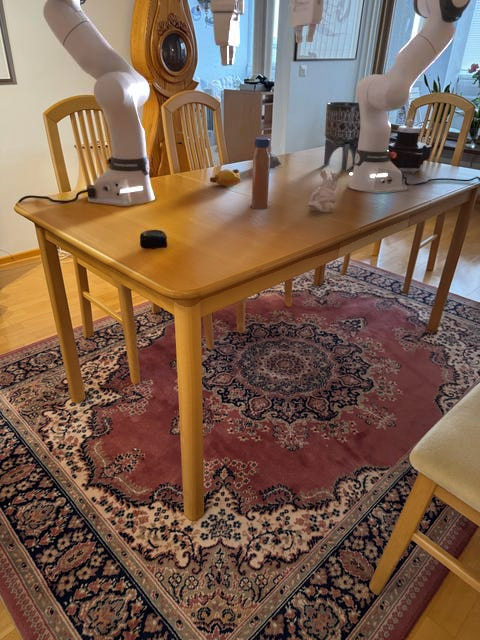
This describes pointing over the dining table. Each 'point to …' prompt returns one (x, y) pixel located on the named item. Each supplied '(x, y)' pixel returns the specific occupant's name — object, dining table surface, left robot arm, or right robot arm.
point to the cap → (262, 142)
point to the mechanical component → (409, 148)
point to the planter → (342, 130)
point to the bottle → (260, 178)
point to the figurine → (324, 194)
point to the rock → (274, 161)
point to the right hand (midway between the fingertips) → (304, 42)
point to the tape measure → (153, 239)
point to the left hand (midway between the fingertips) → (227, 65)
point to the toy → (227, 178)
